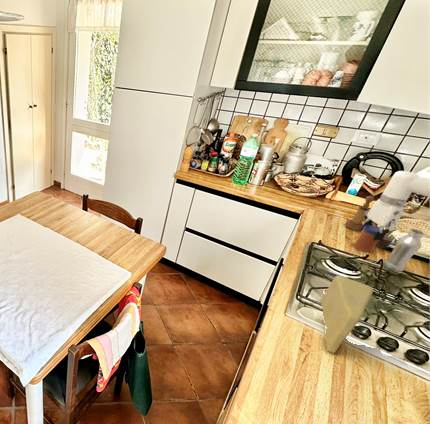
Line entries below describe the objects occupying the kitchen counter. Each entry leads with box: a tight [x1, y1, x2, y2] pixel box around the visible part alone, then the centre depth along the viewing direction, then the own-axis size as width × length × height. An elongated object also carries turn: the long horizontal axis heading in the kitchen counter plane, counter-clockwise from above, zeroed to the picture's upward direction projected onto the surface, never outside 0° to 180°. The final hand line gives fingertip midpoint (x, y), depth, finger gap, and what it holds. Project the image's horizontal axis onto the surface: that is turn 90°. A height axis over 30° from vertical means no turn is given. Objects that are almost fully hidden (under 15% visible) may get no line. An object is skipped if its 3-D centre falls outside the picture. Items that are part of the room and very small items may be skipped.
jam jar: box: [353, 230, 379, 253], centre depth 139 cm, size 7×7×10 cm
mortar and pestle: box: [344, 195, 375, 232], centre depth 154 cm, size 7×6×18 cm
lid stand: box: [375, 235, 393, 250], centre depth 143 cm, size 5×5×4 cm
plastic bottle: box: [382, 228, 425, 273], centre depth 122 cm, size 6×7×20 cm
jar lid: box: [363, 224, 380, 235], centre depth 137 cm, size 7×7×2 cm
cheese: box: [319, 275, 374, 354], centre depth 96 cm, size 22×10×15 cm, turn 138°
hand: (370, 234), depth 138 cm, fingers closed on jar lid, 6 cm apart
